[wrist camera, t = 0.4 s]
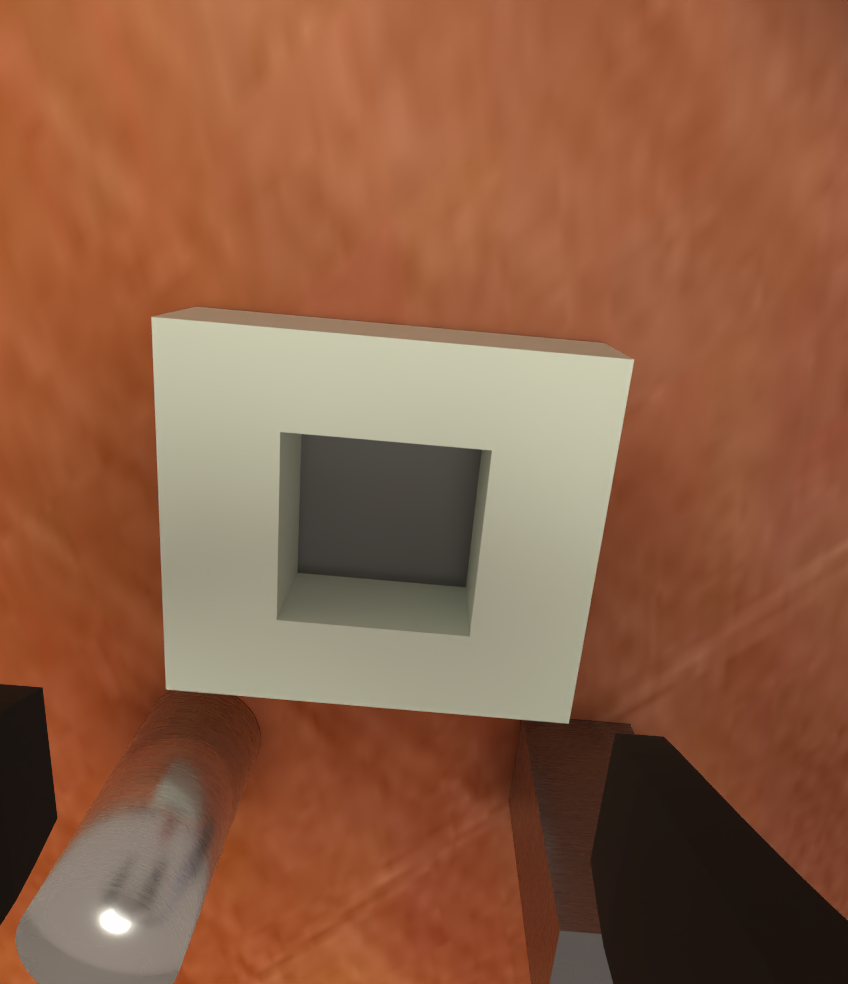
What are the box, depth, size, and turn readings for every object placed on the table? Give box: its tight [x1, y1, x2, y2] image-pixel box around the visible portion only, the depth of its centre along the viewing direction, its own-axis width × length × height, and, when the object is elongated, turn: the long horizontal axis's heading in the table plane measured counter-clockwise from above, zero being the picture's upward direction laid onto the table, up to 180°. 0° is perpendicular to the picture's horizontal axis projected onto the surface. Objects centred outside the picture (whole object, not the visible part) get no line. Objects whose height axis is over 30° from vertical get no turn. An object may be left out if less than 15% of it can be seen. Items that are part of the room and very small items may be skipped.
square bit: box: [509, 719, 634, 984], centre depth 18 cm, size 3×3×7 cm
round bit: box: [16, 690, 261, 984], centre depth 18 cm, size 3×3×7 cm
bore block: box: [151, 307, 634, 724], centre depth 17 cm, size 10×9×3 cm
